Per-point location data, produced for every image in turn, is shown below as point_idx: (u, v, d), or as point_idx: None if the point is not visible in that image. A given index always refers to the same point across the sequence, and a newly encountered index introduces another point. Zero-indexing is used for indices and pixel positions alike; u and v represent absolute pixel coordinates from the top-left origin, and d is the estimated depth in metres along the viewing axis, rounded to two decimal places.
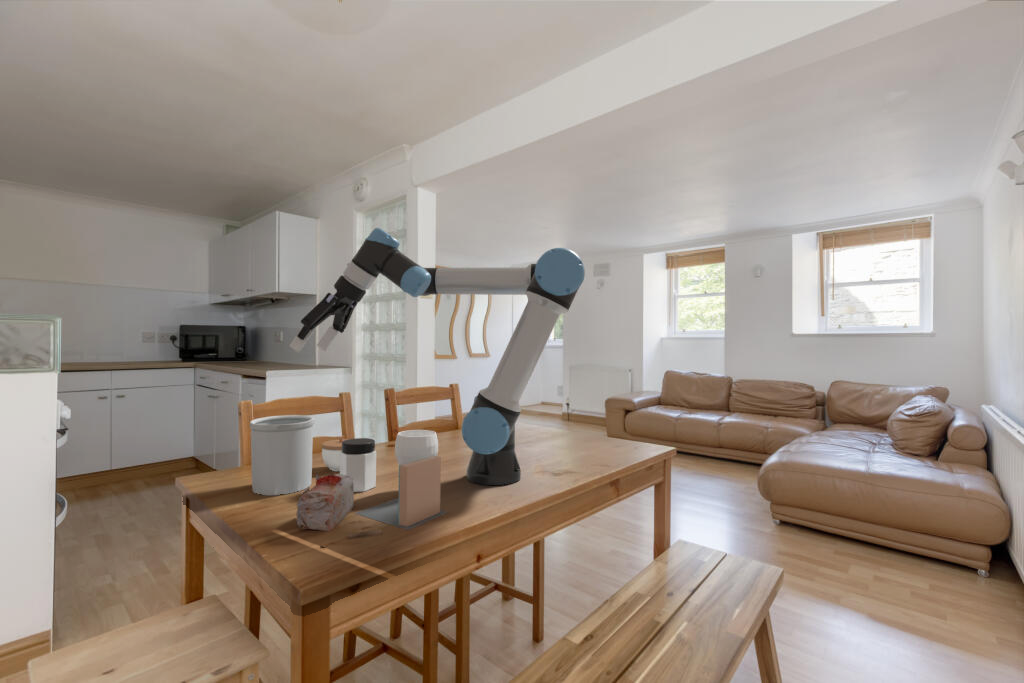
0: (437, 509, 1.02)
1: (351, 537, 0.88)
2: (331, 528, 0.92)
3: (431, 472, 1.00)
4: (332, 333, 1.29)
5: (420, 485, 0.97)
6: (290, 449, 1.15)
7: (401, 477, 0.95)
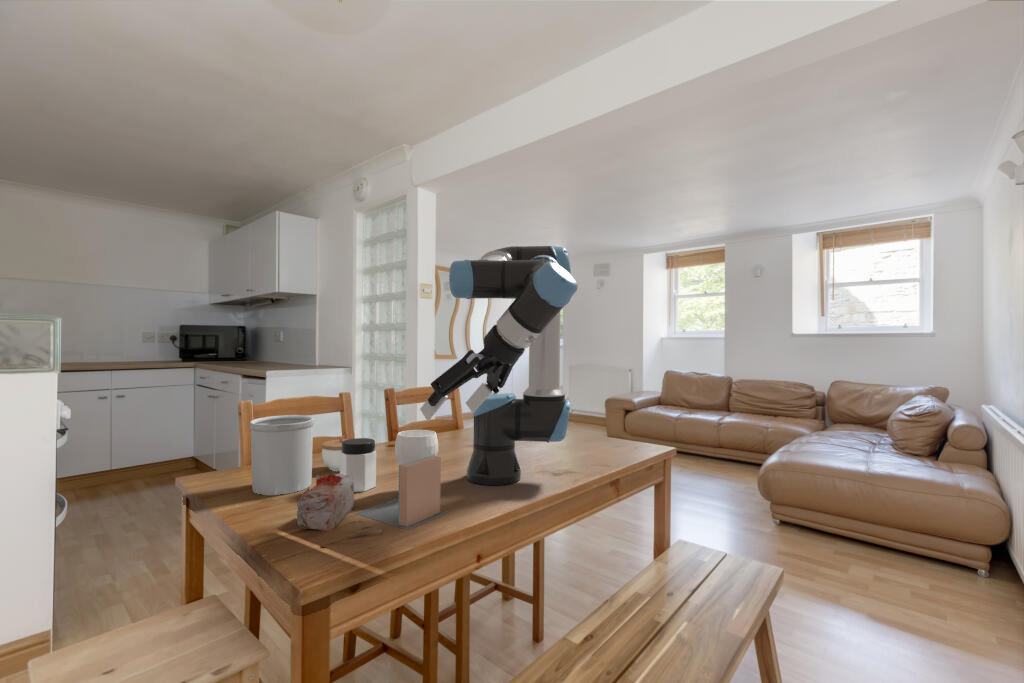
0: (437, 509, 1.02)
1: (351, 537, 0.88)
2: (331, 528, 0.92)
3: (431, 472, 1.00)
4: None
5: (420, 485, 0.97)
6: (290, 449, 1.15)
7: (401, 477, 0.95)
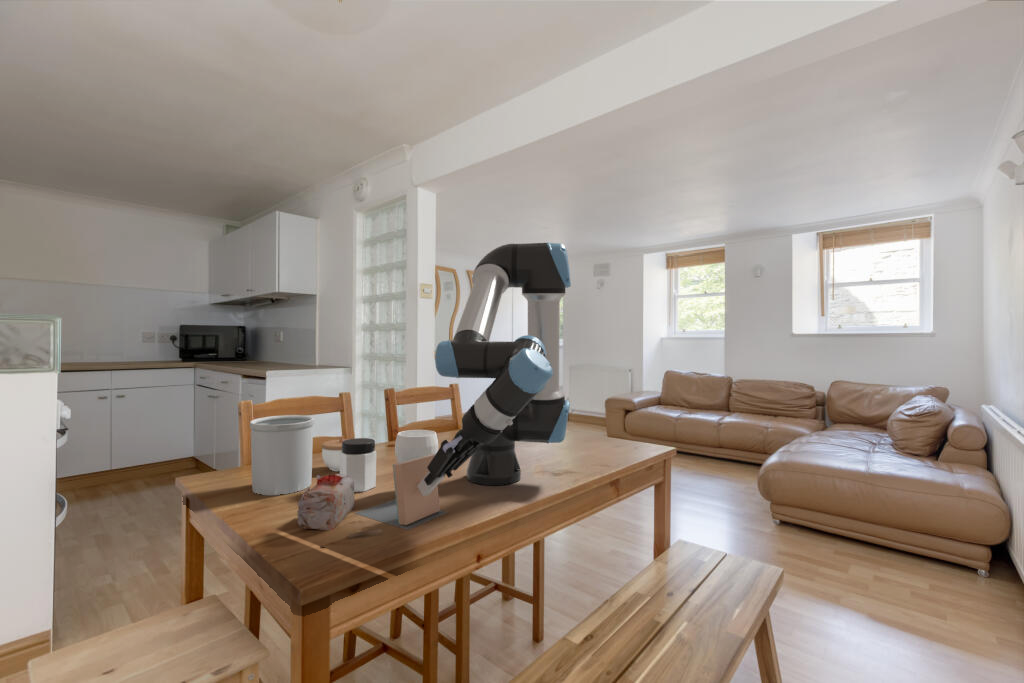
0: (436, 507, 1.02)
1: (351, 537, 0.88)
2: (332, 527, 0.92)
3: (427, 470, 1.01)
4: None
5: (416, 483, 0.98)
6: (290, 449, 1.15)
7: (396, 476, 0.96)
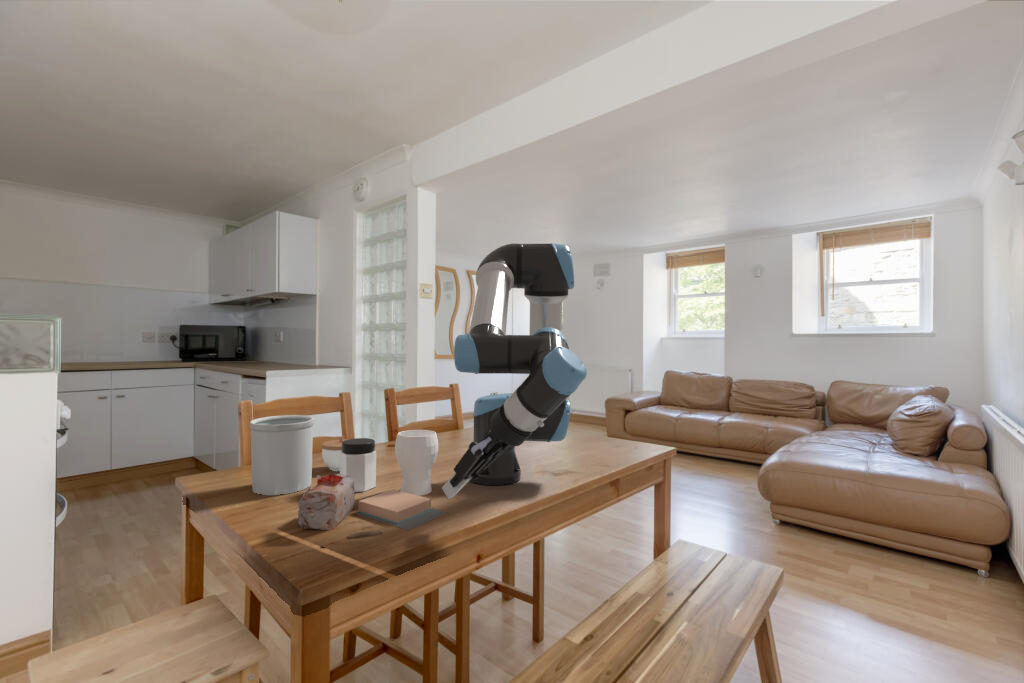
0: (425, 499, 1.04)
1: (351, 537, 0.88)
2: (333, 527, 0.92)
3: (392, 494, 1.06)
4: None
5: (386, 500, 1.03)
6: (290, 449, 1.15)
7: (365, 510, 1.01)
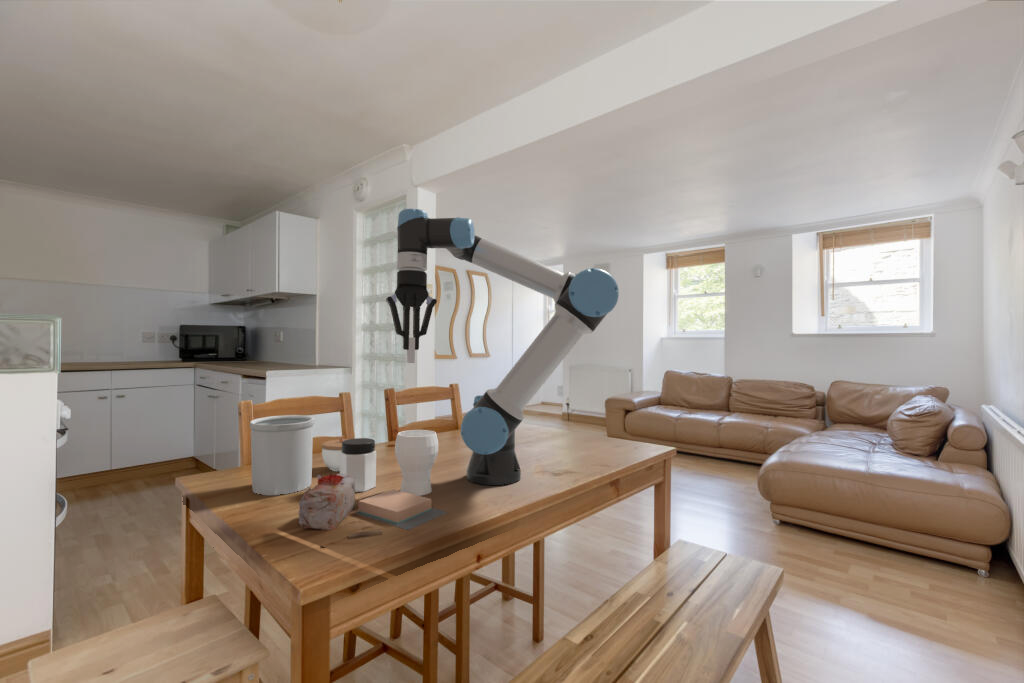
0: (425, 499, 1.04)
1: (351, 537, 0.88)
2: (333, 527, 0.93)
3: (392, 494, 1.06)
4: None
5: (386, 500, 1.03)
6: (290, 449, 1.15)
7: (365, 510, 1.01)
